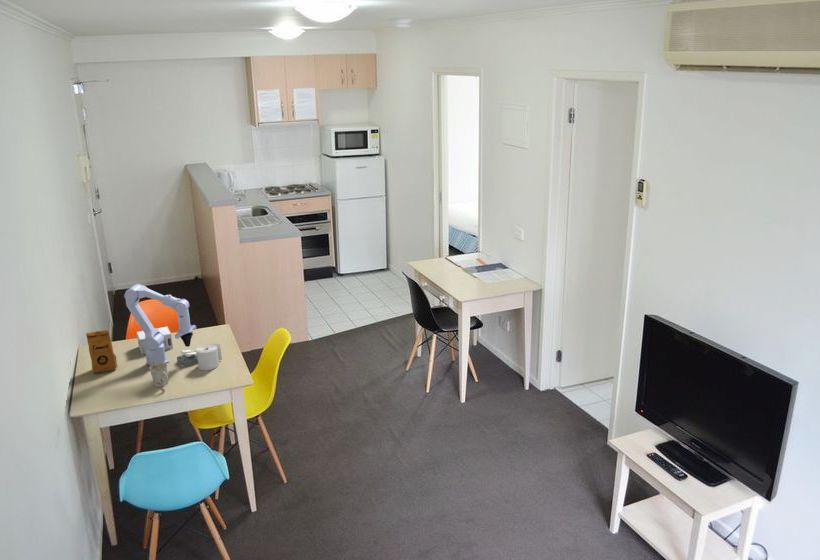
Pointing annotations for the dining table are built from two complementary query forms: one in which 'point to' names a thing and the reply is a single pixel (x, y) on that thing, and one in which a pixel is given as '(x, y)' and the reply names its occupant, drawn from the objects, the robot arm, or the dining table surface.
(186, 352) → the rocker
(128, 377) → the dining table surface
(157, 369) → the mug
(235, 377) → the dining table surface
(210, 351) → the toilet tissue
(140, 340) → the supplement box
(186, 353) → the rocker
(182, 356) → the switch housing
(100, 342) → the coffee package
